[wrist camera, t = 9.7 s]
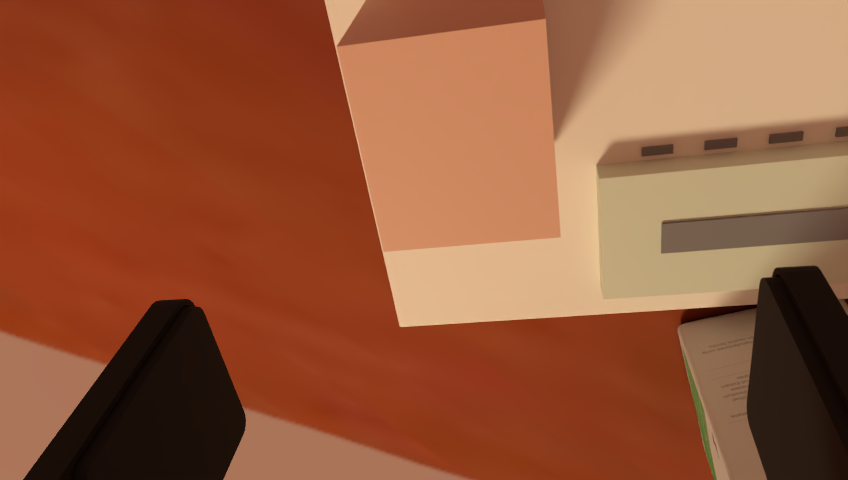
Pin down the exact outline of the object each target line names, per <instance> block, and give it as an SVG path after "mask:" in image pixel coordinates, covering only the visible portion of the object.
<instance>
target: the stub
mask: <svg viewBox="0 0 848 480" xmlns="http://www.w3.org/2000/svg"><path fill="white" fill-rule="evenodd" d="M337 51H338V55H339V60H340V64H341V69H342V73H343V77H344V82H345V86H346V90H347V95H348V99H349V103H350V108H351V112H352V116H353V121H354V125H355V130H356V134H357V138H358V143H359V147H360V151H361V156H362V160H363V164H364V169H365V173H366V177H367V182H368V186H369V190H370V195H371V199H372V204H373V208H374V212H375V217H376V221H377V225H378V230H379V234H380V238H381V243H382V247H383V251H384V252H388V251H401V250H413V249H425V248H437V247H449V246H462V245H474V244H486V243H498V242H510V241H523V240H535V239H547V238H559V237H561V233H560V219H559V204H558V190H557V175H556V161H555V146H554V132H553V117H552V103H551V88H550V74H549V59H548V45H547V30H546V18H545V12H544V6H543V0H366V1H365V2H364V4H363V6H362V7H361V9H360V10H359V12H358V13H357V15H356V17H355V18H354V20H353V21H352V23H351V25H350V26H349V28H348V29H347V31H346V32H345V34H344V36H343V37H342V39H341V40H340V42H339V44H338V45H337Z"/></svg>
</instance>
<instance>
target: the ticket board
mask: <svg viewBox="0 0 848 480" xmlns="http://www.w3.org/2000/svg"><path fill="white" fill-rule="evenodd" d="M365 1H366V0H325V4H326V8H327V12H328V17H329V21H330V25H331V30H332V34H333V39H334V43H335V47H336V52H337V56H338V60H339V55H338V51H337V45H338V44H339V42H340V40H341V39H342V37H343V36H344V34H345V32H346V31H347V29H348V28H349V26H350V25H351V23H352V21H353V20H354V18H355V17H356V15H357V13H358V12H359V10H360V9H361V7H362V6H363V4H364V2H365ZM543 6H544V12H545V18H546V30H547V45H548V59H549V74H550V88H551V103H552V117H553V132H554V146H555V161H556V175H557V190H558V204H559V219H560V233H561V237H559V238H547V239H535V240H523V241H510V242H498V243H486V244H474V245H462V246H449V247H437V248H425V249H413V250H401V251H388V252H384V251H383V247H382V243H381V247H382V251H383V255H384V260H385V264H386V268H387V273H388V277H389V281H390V286H391V290H392V294H393V299H394V303H395V308H396V312H397V316H398V321H399V325H400V327H408V326H423V325H439V324H455V323H470V322H486V321H502V320H518V319H533V318H549V317H565V316H581V315H596V314H612V313H628V312H644V311H659V310H675V309H691V308H707V307H722V306H738V305H754V304H757V301H758V292H759V284H760V280H761V279H762V278H765V277H772V274H773V271H774V269H775V268H777V267H795V266H814V265H815V266H818V267H819V269H820V270H821V271H822V273H823V275H824V276H825V278H826V280H827V282H828V283H829V285H830V287H831V288H832V290H833V292H834V293H835V295H836V297H837V298H838V299H848V0H543ZM339 65H340V69H341V64H340V60H339ZM341 73H342V69H341ZM342 78H343V82H344V77H343V73H342ZM344 86H345V82H344ZM345 91H346V95H347V90H346V86H345ZM347 99H348V95H347ZM348 104H349V108H350V103H349V99H348ZM350 112H351V108H350ZM351 117H352V121H353V116H352V112H351ZM353 125H354V121H353ZM354 130H355V125H354ZM355 134H356V130H355ZM356 138H357V134H356ZM357 143H358V138H357ZM358 147H359V143H358ZM359 151H360V147H359ZM360 156H361V151H360ZM361 160H362V156H361ZM362 164H363V160H362ZM363 169H364V164H363ZM364 173H365V169H364ZM365 177H366V173H365ZM366 182H367V177H366ZM367 186H368V182H367ZM368 190H369V186H368ZM369 195H370V190H369ZM370 199H371V195H370ZM371 203H372V199H371ZM372 208H373V204H372ZM373 212H374V208H373ZM374 216H375V212H374ZM375 221H376V217H375ZM376 225H377V221H376ZM377 229H378V225H377ZM378 234H379V230H378ZM379 238H380V234H379ZM380 242H381V238H380Z"/></svg>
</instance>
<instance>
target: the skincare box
mask: <svg viewBox="0 0 848 480" xmlns="http://www.w3.org/2000/svg"><path fill="white" fill-rule="evenodd" d="M838 300H839V302H840V303H841V305H842V307H843V309H844V310H845V312H846V314H847V315H848V305H847V304H846V302H845V301H844V299H838ZM756 311H757V308H754V309H749V310H744V311H740V312H735V313H731V314H726V315H721V316H716V317H711V318H706V319H702V320H697V321H693V322H689V323H684V324H682V325H680V326H679V327H678V334H679V339H680V343H681V347H682V352H683V357H684V361H685V366H686V370H687V374H688V379H689V383H690V387H691V391H692V396H693V400H694V404H695V408H696V412H697V417H698V421H699V426H700V430H701V435H702V440H703V445H704V449H705V452H706V455H707V458H708V462H709V465H710V468H711V471H712V475H713V478H714V480H767V477H766V474H765V472H764V469H763V466H762V463H761V460H760V457H759V454H758V451H757V448H756V445H755V442H754V439H753V436H752V433H751V430H750V427H749V423H748V418H747V395H748V386H749V376H750V367H751V358H752V348H753V339H754V330H755V320H756Z"/></svg>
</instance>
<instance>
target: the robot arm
mask: <svg viewBox="0 0 848 480" xmlns="http://www.w3.org/2000/svg"><path fill="white" fill-rule="evenodd" d="M747 418H748V423H749V427H750V430H751V433H752V436H753V439H754V442H755V445H756V448H757V451H758V454H759V457H760V460H761V463H762V466H763V469H764V472H765V474H766V477H767V480H848V315H847V314H846V312H845V310H844V309H843V307H842V305H841V303H840V302H839V300H838V298H837V297H836V295H835V293H834V292H833V290H832V288H831V287H830V285H829V283H828V282H827V280H826V278H825V276H824V275H823V273H822V271H821V270H820V269H819V267H818V266H815V265H814V266H795V267H777V268H775V269H774V271H773V274H772V277H765V278H762V279H761V280H760V284H759V292H758V301H757V311H756V320H755V330H754V339H753V348H752V358H751V367H750V376H749V386H748V395H747ZM245 425H246V419H245V413H244V410H243V408H242V405H241V403H240V400H239V398H238V395H237V393H236V390H235V388H234V385H233V383H232V380H231V378H230V375H229V373H228V371H227V368H226V366H225V363H224V361H223V358H222V356H221V353H220V351H219V348H218V346H217V343H216V341H215V338H214V336H213V333H212V331H211V328H210V326H209V324H208V321H207V319H206V316H205V314H204V312H203V310H202V309H201V308H200V307H195V305H194V304H193V302H191V301H190V300H188V299H178V300H160V301H156V302H154V303H153V304H152V305H151V307H150V308H149V309H148V311H147V312H146V313H145V315H144V316H143V318H142V319H141V320H140V322H139V323H138V324H137V326H136V327H135V328H134V330H133V331H132V332H131V334H130V335H129V337H128V338H127V339H126V341H125V342H124V343H123V345H122V346H121V347H120V349H119V350H118V351H117V353H116V354H115V356H114V357H113V358H112V360H111V361H110V362H109V364H108V365H107V366H106V368H105V369H104V371H103V372H102V373H101V375H100V376H99V377H98V379H97V380H96V381H95V383H94V384H93V386H92V387H91V388H90V390H89V391H88V392H87V394H86V395H85V396H84V398H83V399H82V401H81V402H80V403H79V404H78V406H77V407H76V409H75V410H74V411H73V413H72V414H71V415H70V417H69V418H68V419H67V421H66V422H65V423H64V425H63V426H62V428H61V429H60V430H59V432H58V433H57V434H56V436H55V437H54V439H53V440H52V441H51V442H50V444H49V445H48V447H47V448H46V449H45V451H44V452H43V453H42V455H41V456H40V458H39V459H38V460H37V462H36V463H35V464H34V466H33V467H32V468H31V470H30V471H29V472H28V474H27V475H26V476H25V478H24V479H23V480H223V479H224V476H225V474H226V472H227V470H228V467H229V465H230V463H231V460H232V459H233V456H234V454H235V452H236V450H237V447H238V445H239V443H240V441H241V438H242V436H243V434H244V431H245Z"/></svg>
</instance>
